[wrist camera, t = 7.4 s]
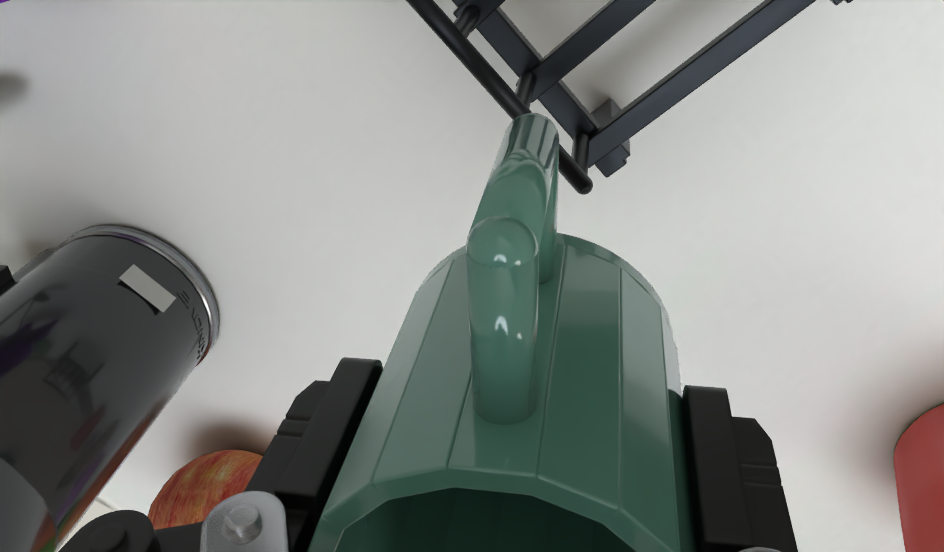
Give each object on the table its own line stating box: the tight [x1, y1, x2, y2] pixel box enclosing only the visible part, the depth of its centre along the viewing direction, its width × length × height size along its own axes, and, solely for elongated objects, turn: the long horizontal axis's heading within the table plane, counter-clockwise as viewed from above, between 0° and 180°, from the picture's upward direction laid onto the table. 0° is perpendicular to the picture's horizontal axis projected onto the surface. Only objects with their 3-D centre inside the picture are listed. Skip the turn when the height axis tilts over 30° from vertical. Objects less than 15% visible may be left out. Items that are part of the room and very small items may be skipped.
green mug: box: [307, 113, 698, 552], centre depth 13 cm, size 9×6×6 cm, turn 2°
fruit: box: [148, 450, 263, 530], centre depth 43 cm, size 9×10×10 cm
